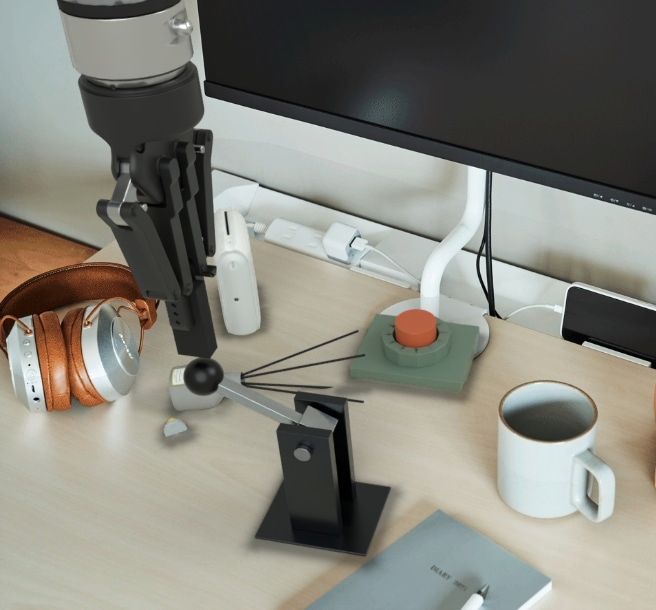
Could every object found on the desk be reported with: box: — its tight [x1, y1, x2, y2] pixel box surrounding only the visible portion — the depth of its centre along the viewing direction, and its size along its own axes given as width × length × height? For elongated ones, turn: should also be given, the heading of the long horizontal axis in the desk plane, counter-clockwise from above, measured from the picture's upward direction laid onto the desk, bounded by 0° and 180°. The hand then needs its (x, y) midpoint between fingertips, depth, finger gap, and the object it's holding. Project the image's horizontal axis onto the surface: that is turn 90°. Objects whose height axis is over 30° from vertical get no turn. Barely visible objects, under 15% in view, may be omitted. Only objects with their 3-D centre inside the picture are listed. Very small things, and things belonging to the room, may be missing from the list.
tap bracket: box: [254, 390, 392, 557], centre depth 79 cm, size 10×8×13 cm
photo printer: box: [211, 207, 262, 336], centre depth 105 cm, size 10×4×12 cm, turn 16°
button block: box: [349, 313, 480, 393], centre depth 100 cm, size 12×10×4 cm
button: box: [395, 308, 436, 348], centre depth 99 cm, size 4×4×2 cm
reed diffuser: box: [163, 329, 365, 437], centre depth 94 cm, size 10×7×20 cm
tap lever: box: [183, 357, 338, 433], centre depth 76 cm, size 13×3×3 cm, turn 79°
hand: (197, 350), depth 74 cm, fingers closed
